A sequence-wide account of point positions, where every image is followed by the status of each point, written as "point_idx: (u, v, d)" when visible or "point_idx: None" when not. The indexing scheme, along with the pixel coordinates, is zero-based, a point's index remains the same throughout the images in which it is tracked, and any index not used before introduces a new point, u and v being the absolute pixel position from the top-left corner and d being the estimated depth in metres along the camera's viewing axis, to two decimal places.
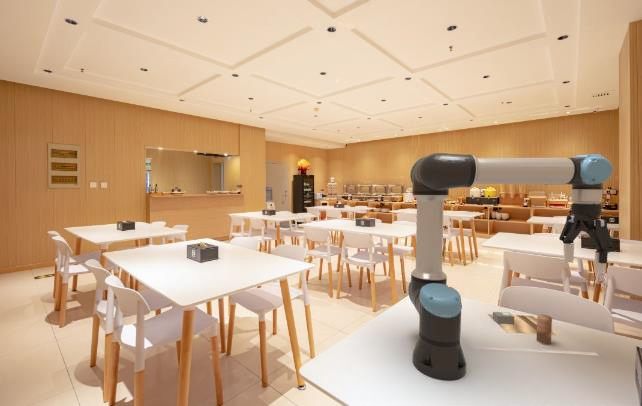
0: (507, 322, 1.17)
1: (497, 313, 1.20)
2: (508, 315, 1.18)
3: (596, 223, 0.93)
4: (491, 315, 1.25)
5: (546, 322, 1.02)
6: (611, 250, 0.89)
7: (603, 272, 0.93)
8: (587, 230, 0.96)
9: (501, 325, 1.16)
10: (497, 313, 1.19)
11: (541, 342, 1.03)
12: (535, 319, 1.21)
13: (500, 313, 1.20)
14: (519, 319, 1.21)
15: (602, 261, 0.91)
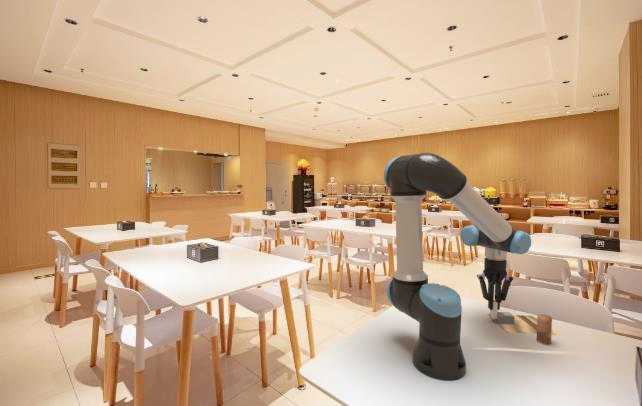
0: (507, 322, 1.17)
1: (497, 313, 1.20)
2: (508, 315, 1.18)
3: None
4: None
5: (546, 322, 1.02)
6: (485, 298, 1.19)
7: (492, 317, 1.19)
8: None
9: (501, 325, 1.16)
10: (497, 313, 1.19)
11: (541, 342, 1.03)
12: (535, 319, 1.21)
13: (500, 313, 1.20)
14: (519, 319, 1.21)
15: (488, 306, 1.20)
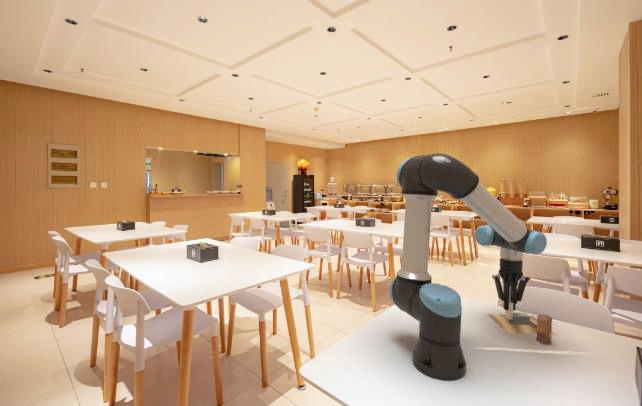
0: (523, 322, 1.17)
1: (513, 314, 1.19)
2: (524, 316, 1.17)
3: None
4: (491, 315, 1.25)
5: (546, 322, 1.02)
6: (500, 298, 1.19)
7: (508, 318, 1.18)
8: None
9: (501, 325, 1.16)
10: (513, 314, 1.19)
11: (541, 342, 1.03)
12: (535, 319, 1.21)
13: (516, 314, 1.19)
14: None
15: (503, 307, 1.20)
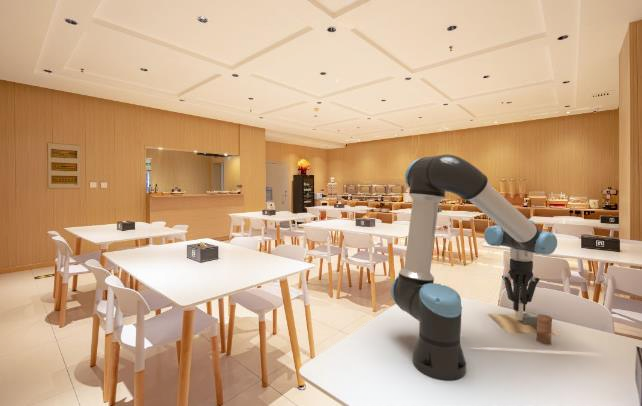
0: (533, 323, 1.16)
1: None
2: (534, 316, 1.17)
3: None
4: (491, 315, 1.25)
5: (546, 322, 1.02)
6: (510, 299, 1.18)
7: (518, 318, 1.18)
8: None
9: (501, 325, 1.16)
10: (523, 314, 1.19)
11: (541, 342, 1.03)
12: None
13: (525, 314, 1.19)
14: None
15: (513, 308, 1.19)
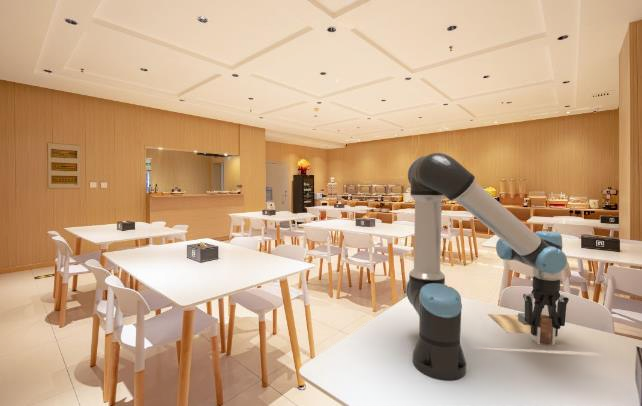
0: None
1: (523, 314, 1.19)
2: None
3: None
4: (491, 315, 1.25)
5: (546, 322, 1.02)
6: (527, 322, 1.04)
7: None
8: None
9: (501, 325, 1.16)
10: (523, 315, 1.19)
11: (541, 342, 1.03)
12: None
13: None
14: None
15: (531, 332, 1.05)
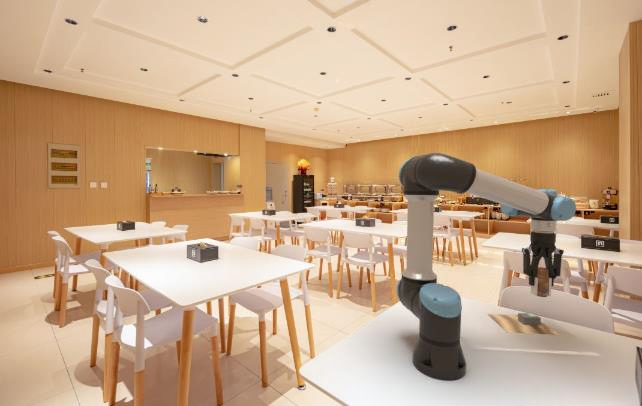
0: (533, 323, 1.16)
1: (523, 314, 1.19)
2: (534, 316, 1.17)
3: None
4: (491, 315, 1.25)
5: (543, 272, 1.10)
6: (525, 273, 1.12)
7: (534, 294, 1.12)
8: None
9: (501, 325, 1.16)
10: (523, 315, 1.19)
11: (538, 292, 1.11)
12: None
13: (526, 314, 1.19)
14: None
15: (529, 283, 1.13)
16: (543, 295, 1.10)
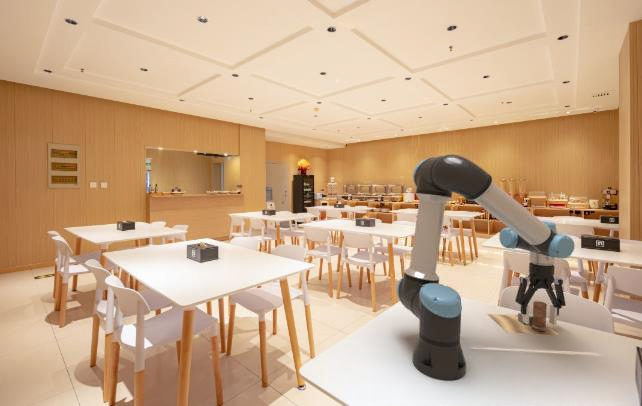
0: None
1: None
2: None
3: None
4: (491, 315, 1.25)
5: (541, 307, 1.11)
6: (517, 302, 1.13)
7: (525, 322, 1.12)
8: None
9: (501, 325, 1.16)
10: None
11: (536, 326, 1.12)
12: None
13: None
14: None
15: (521, 311, 1.14)
16: (541, 330, 1.11)
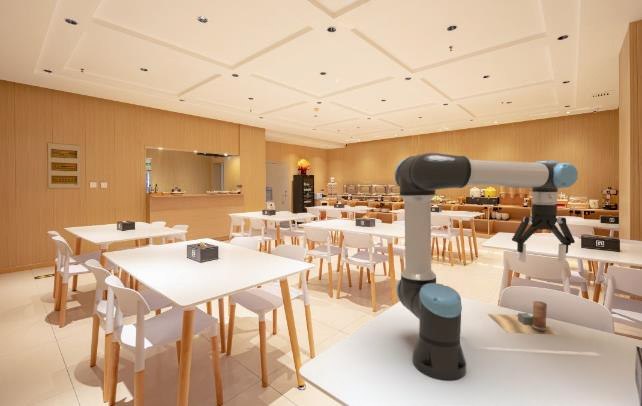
0: None
1: (523, 314, 1.19)
2: None
3: None
4: (491, 315, 1.25)
5: (541, 307, 1.11)
6: (514, 240, 1.12)
7: (522, 260, 1.11)
8: None
9: (501, 325, 1.16)
10: (523, 315, 1.19)
11: (536, 326, 1.12)
12: None
13: (526, 314, 1.19)
14: None
15: (517, 250, 1.13)
16: (541, 330, 1.11)
